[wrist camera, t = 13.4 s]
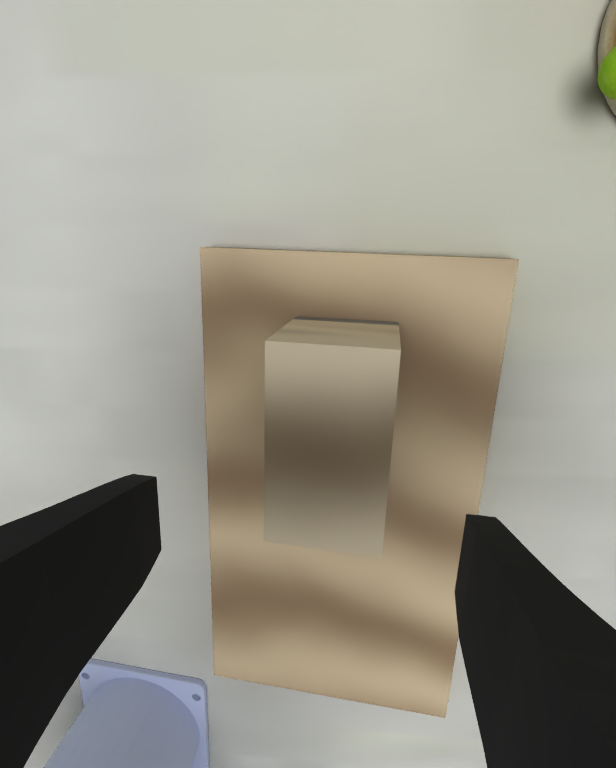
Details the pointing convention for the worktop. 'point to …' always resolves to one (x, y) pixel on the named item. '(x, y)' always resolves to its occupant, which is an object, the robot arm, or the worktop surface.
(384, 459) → the block
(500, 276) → the board
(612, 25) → the toy tea set
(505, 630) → the robot arm
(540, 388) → the worktop surface
